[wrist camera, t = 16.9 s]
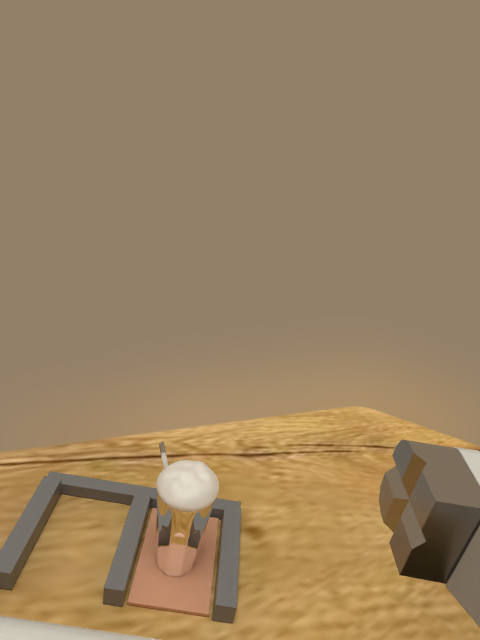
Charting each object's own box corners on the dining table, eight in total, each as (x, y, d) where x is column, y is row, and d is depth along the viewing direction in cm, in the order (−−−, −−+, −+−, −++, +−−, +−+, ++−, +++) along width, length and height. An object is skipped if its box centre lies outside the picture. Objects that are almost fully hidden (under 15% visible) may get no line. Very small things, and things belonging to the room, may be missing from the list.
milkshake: (168, 519, 40) (182, 429, 36) (214, 557, 37) (235, 466, 33) (128, 551, 36) (138, 456, 32) (176, 597, 34) (193, 500, 30)
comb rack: (238, 511, 42) (241, 497, 42) (232, 623, 33) (236, 608, 32) (50, 481, 42) (50, 466, 41) (-10, 586, 32) (-12, 570, 32)
